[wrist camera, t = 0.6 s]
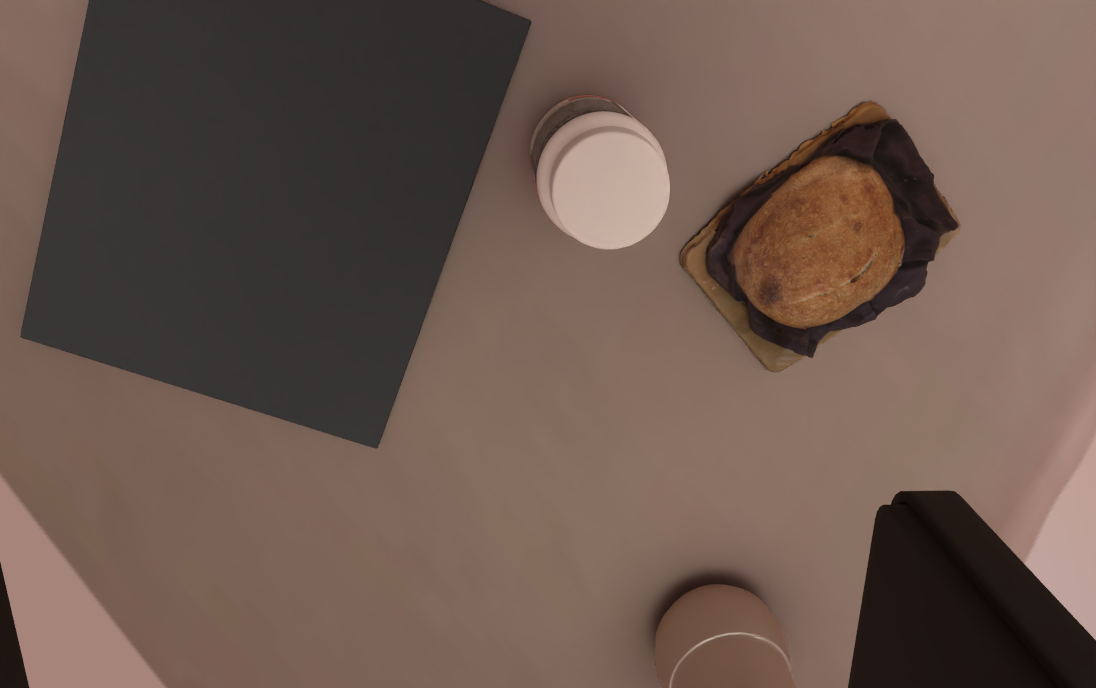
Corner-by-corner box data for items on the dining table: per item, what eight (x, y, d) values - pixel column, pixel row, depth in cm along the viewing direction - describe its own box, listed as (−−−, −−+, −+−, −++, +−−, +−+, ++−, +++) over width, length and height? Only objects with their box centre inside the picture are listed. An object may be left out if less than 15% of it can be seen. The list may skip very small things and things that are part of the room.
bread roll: (771, 379, 43) (795, 413, 39) (665, 243, 40) (680, 268, 37) (969, 237, 41) (1013, 260, 37) (871, 84, 38) (908, 94, 34)
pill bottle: (507, 168, 38) (510, 212, 31) (571, 70, 37) (591, 91, 29) (600, 229, 40) (625, 287, 32) (665, 136, 38) (708, 173, 30)
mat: (123, -147, 34) (119, -148, 33) (531, 21, 36) (531, 21, 36) (24, 334, 40) (19, 337, 39) (378, 445, 43) (377, 449, 42)
